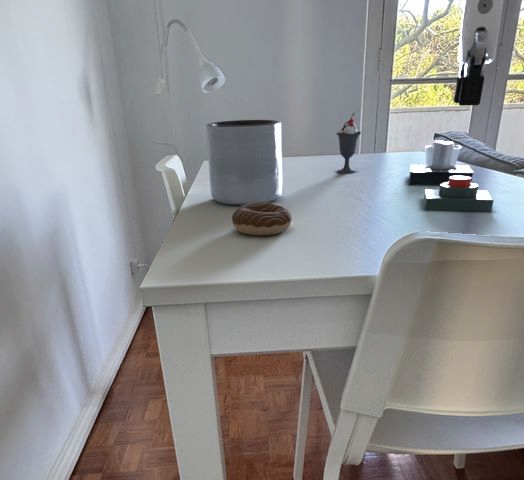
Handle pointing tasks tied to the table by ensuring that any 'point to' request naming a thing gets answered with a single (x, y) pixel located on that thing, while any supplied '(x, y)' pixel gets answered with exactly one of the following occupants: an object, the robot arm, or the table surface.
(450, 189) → the box
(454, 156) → the candle
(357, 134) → the sundae
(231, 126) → the planter
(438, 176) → the block
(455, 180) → the button
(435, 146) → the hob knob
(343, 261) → the table surface
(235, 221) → the donut
